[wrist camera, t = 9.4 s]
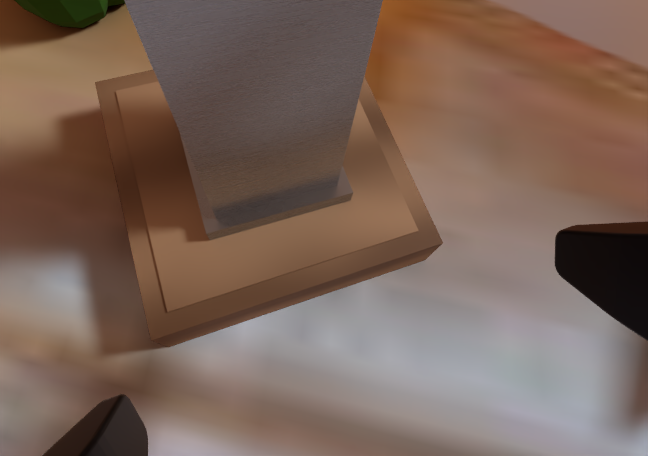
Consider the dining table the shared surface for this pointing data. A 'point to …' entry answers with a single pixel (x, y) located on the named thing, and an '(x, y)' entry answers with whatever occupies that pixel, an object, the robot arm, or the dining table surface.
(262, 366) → the dining table surface
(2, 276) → the dining table surface
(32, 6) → the bell pepper
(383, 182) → the stand
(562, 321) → the dining table surface
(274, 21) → the plate
